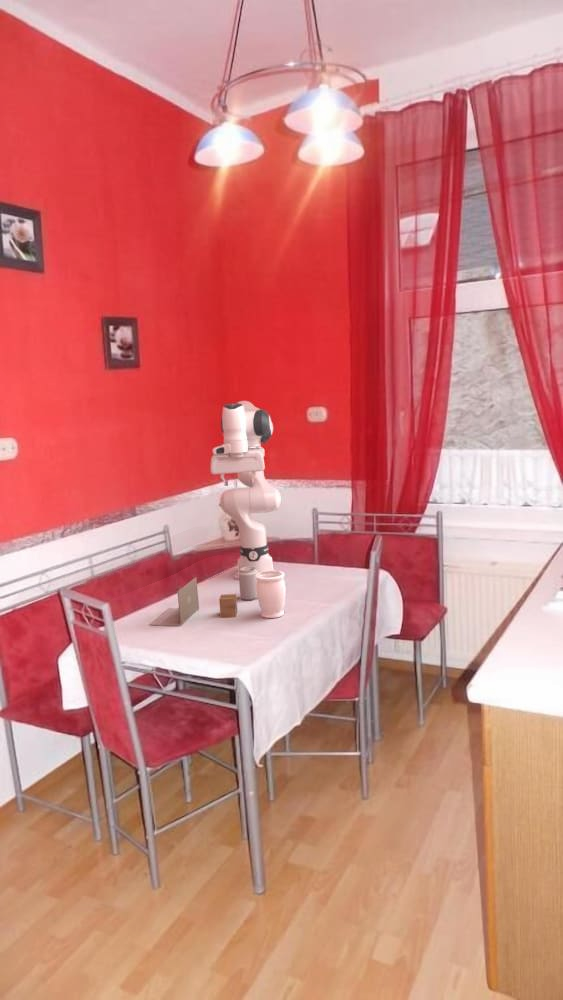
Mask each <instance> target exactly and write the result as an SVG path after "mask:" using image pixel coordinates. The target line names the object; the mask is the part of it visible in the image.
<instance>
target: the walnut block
mask: <svg viewBox="0 0 563 1000" xmlns="http://www.w3.org/2000/svg"><path fill="white" fill-rule="evenodd" d="M237 601H238V600H237V593H227V594H221V595H220V596H219V599H218V603H219V612H220V613H219V615H220V619H223V618H228V619H229V618H237V615H238V602H237Z"/></svg>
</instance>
